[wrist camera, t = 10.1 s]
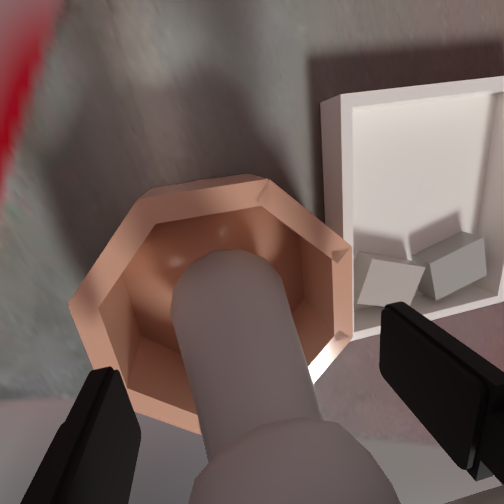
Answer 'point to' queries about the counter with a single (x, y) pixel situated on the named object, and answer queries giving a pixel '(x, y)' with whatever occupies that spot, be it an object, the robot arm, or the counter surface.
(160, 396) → the bowl
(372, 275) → the beige rectangular block
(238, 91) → the counter surface
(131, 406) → the robot arm
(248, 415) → the salt shaker
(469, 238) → the grey rectangular block
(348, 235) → the tray
